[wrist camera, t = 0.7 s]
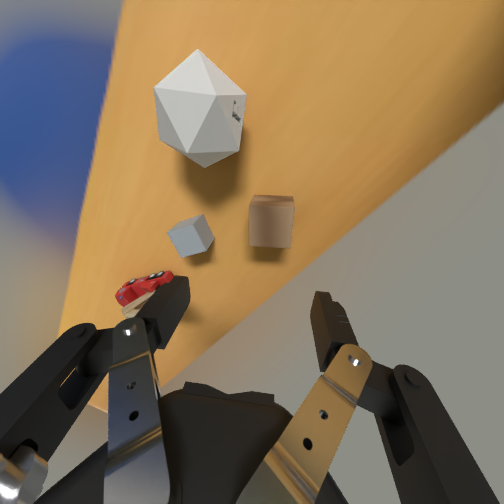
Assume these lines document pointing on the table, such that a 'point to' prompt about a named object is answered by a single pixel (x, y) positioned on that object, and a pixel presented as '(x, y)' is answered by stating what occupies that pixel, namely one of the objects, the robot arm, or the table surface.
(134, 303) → the toy fire truck
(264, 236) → the walnut block
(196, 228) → the slate block
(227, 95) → the die
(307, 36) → the table surface
